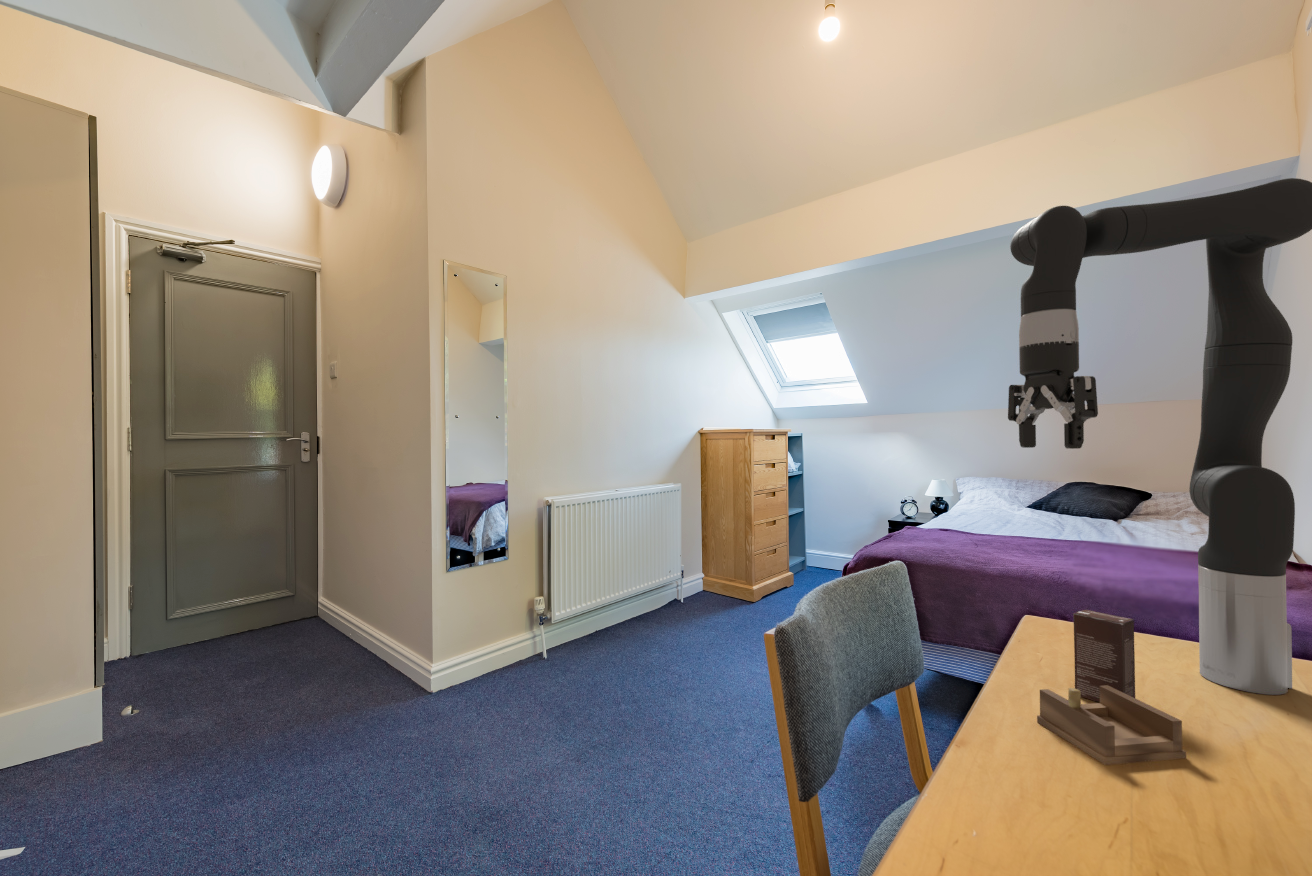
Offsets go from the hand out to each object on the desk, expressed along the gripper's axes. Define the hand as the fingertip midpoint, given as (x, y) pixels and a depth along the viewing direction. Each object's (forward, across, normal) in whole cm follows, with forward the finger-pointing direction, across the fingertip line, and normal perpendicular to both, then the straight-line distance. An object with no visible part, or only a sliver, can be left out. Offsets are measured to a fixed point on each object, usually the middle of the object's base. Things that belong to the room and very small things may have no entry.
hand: (1049, 448), depth 85 cm
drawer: (+36, +16, -7) cm, 40 cm away
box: (+36, +6, +2) cm, 37 cm away
